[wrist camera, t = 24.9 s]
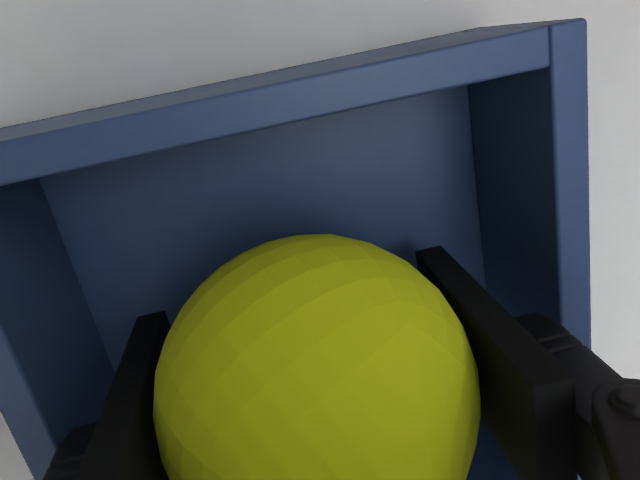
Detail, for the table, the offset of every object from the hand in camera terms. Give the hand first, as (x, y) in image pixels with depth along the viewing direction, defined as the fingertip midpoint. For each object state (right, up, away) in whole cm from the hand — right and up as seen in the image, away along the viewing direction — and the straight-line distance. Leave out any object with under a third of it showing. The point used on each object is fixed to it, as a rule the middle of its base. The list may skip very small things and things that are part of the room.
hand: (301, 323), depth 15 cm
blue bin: (0, +1, +2) cm, 2 cm away
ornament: (0, 0, 0) cm, 0 cm away
